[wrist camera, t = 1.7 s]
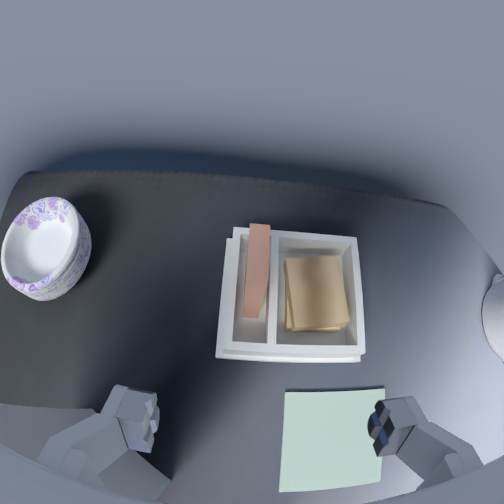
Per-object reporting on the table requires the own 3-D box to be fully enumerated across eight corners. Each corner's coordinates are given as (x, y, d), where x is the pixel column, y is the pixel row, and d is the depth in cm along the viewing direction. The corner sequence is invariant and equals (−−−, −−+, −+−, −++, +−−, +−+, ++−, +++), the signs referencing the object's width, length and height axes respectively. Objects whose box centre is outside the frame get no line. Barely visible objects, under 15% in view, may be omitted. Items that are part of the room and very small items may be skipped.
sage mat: (383, 388, 36) (384, 388, 35) (378, 480, 29) (380, 481, 29) (284, 392, 36) (285, 392, 35) (278, 490, 29) (279, 491, 29)
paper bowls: (33, 322, 37) (3, 306, 30) (21, 246, 42) (-2, 222, 35) (110, 283, 41) (89, 260, 34) (89, 209, 46) (71, 180, 39)
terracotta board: (259, 275, 42) (270, 225, 30) (257, 318, 39) (268, 281, 27) (245, 274, 42) (250, 223, 30) (242, 317, 39) (246, 280, 27)
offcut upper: (332, 261, 41) (337, 255, 39) (344, 325, 37) (350, 321, 35) (283, 264, 40) (285, 258, 39) (291, 331, 36) (294, 327, 35)
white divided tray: (351, 251, 45) (362, 235, 41) (357, 362, 38) (372, 356, 33) (227, 241, 45) (226, 223, 40) (215, 357, 37) (213, 352, 33)
